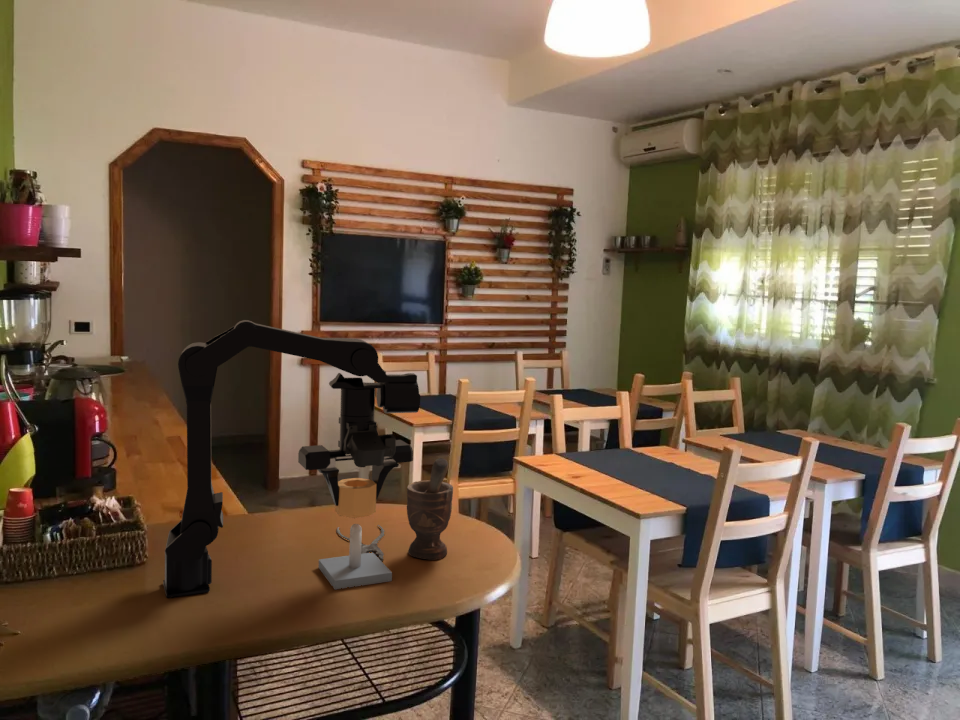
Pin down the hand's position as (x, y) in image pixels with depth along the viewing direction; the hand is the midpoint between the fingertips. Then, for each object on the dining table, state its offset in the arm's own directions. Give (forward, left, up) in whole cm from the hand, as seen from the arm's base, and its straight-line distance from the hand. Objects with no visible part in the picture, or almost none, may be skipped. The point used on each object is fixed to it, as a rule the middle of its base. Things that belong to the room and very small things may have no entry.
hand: (355, 503), depth 129 cm
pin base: (0, 0, -13) cm, 13 cm away
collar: (0, 0, -2) cm, 2 cm away
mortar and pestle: (+16, +3, -13) cm, 21 cm away
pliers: (+8, +14, -13) cm, 21 cm away
